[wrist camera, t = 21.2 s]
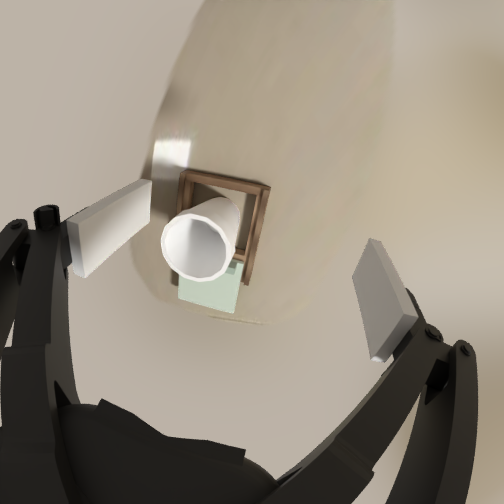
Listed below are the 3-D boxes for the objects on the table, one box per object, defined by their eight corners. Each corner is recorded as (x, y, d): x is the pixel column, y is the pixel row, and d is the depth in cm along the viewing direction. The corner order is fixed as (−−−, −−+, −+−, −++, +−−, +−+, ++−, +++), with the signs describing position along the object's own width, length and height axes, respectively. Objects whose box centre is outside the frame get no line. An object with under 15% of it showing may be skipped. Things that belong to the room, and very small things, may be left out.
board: (186, 170, 42) (180, 172, 40) (270, 187, 41) (269, 191, 39) (178, 259, 50) (172, 265, 48) (250, 277, 49) (248, 285, 47)
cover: (182, 246, 46) (176, 253, 43) (244, 261, 45) (241, 270, 43) (179, 295, 51) (174, 304, 49) (234, 311, 50) (231, 320, 48)
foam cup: (206, 178, 42) (173, 200, 31) (258, 203, 43) (243, 235, 31) (187, 226, 47) (154, 262, 35) (235, 249, 47) (214, 293, 36)
